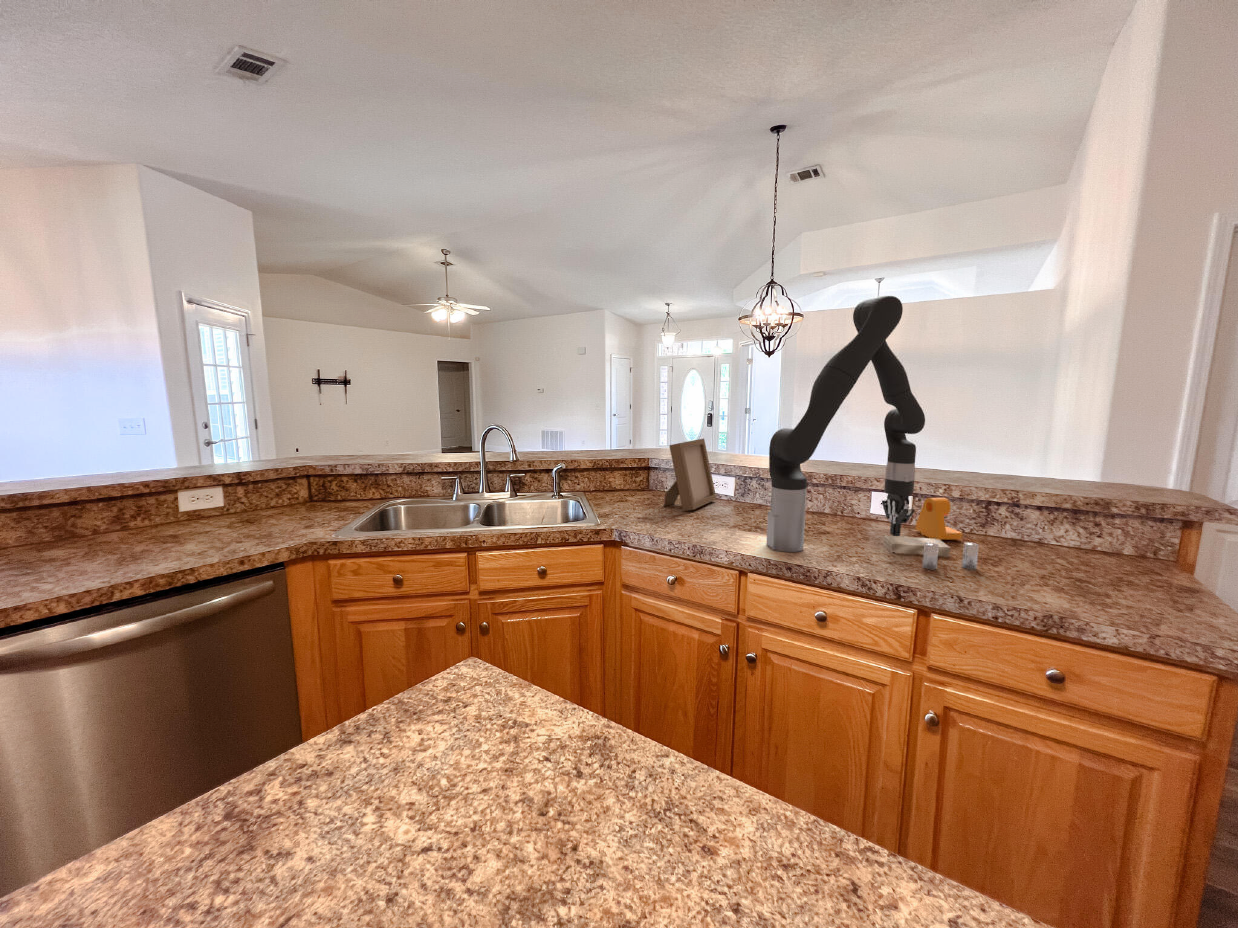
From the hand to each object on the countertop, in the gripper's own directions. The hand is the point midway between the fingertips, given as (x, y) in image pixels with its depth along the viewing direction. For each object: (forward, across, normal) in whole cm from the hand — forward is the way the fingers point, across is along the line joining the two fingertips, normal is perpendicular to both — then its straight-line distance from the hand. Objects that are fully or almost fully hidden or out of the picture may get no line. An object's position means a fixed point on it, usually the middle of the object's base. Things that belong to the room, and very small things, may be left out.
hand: (895, 535), depth 149 cm
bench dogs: (+1, +24, 0) cm, 24 cm away
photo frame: (+2, -48, -54) cm, 72 cm away
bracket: (+2, -3, +15) cm, 15 cm away
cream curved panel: (+2, +10, 0) cm, 10 cm away
